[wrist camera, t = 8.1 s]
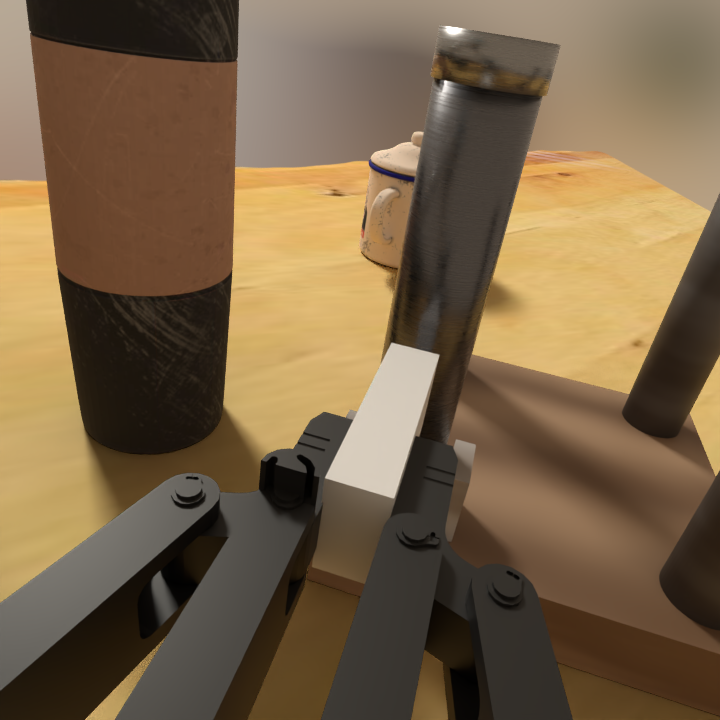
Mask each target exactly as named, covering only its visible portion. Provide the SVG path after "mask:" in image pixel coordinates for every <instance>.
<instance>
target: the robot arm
mask: <svg viewBox="0 0 720 720" xmlns="http://www.w3.org/2000/svg"><path fill="white" fill-rule="evenodd" d="M438 359H439V355H438V354H434V353H430V352H426V351H422V350H419V349H415V348H411V347H407V346H403V345H399V344H395V343H391V345H390V347H389V349H388V351H387V353H386V355H385V357H384V359H383V361H382V363H381V365H380V367H379V369H378V371H377V373H376V375H375V377H374V379H373V381H372V383H371V385H370V387H369V389H368V391H367V393H366V395H365V397H364V400H363V402H362V404H361V406H360V408H359V410H358V412H357V414H356V416H355V418H354V420H352V419H348V418H345V417H341V416H338V415H334V414H330V413H327V412H323V413H322V414H320V415H318V416H317V417H315V418H313V419H312V420H311V421H310V422H309V424H308V425H307V427H306V429H305V430H304V432H303V434H302V435H301V437H300V439H299V440H298V443H297V444H296V445H295V447H294V449H280V450H276V451H273V452H271V453H269V454H267V455H266V456H265V457H264V458H263V459H262V460H261V468H260V482H259V490H258V491H253V492H249V493H227V492H220V489H219V487H218V484H217V483H216V482H215V481H214V480H213V479H212V478H210V477H208V476H205V475H203V474H200V473H184V474H180V475H175V476H173V477H171V478H170V479H168V480H166V481H164V482H163V483H162V484H160V485H159V486H158V487H156V488H155V489H154V490H152V491H151V492H149V493H148V494H147V495H145V496H144V497H143V498H141V499H140V500H139V501H137V502H136V503H135V504H133V505H132V506H131V507H129V508H128V509H127V510H125V511H124V512H122V513H121V514H120V515H118V516H117V517H116V518H114V519H113V520H112V521H110V522H109V523H108V524H106V525H105V526H104V527H102V528H101V529H100V530H98V531H97V532H95V533H94V534H93V535H91V536H90V537H89V538H87V539H86V540H85V541H83V542H82V543H81V544H79V545H78V546H77V547H75V548H74V549H73V550H71V551H70V552H68V553H67V554H66V555H64V556H63V557H62V558H60V559H59V560H58V561H56V562H55V563H54V564H52V565H51V566H50V567H48V568H47V569H46V570H44V571H43V572H41V573H40V574H39V575H37V576H36V577H35V578H33V579H32V580H31V581H29V582H28V583H27V584H25V585H24V586H23V587H21V588H20V589H19V590H17V591H16V592H14V593H13V594H12V595H10V596H9V597H8V598H6V599H5V600H4V601H2V602H1V603H0V720H85V719H86V718H87V717H88V716H89V715H90V714H91V713H92V712H93V711H94V710H95V709H96V708H97V706H98V705H99V704H100V703H101V702H102V701H103V700H104V699H105V698H106V697H107V696H108V695H109V694H110V693H111V692H112V691H113V690H114V689H115V688H116V687H117V686H118V685H119V684H120V683H121V682H122V681H123V680H124V679H125V678H126V677H127V676H128V675H129V674H130V673H131V672H132V671H133V669H134V668H135V667H136V666H137V665H138V664H139V663H140V662H141V661H142V660H143V659H144V658H145V657H146V656H147V655H148V654H149V653H150V652H151V651H152V650H153V649H154V648H155V647H156V646H157V645H158V644H159V643H160V642H161V641H162V640H163V639H164V638H165V637H166V636H167V637H166V638H165V640H164V642H163V643H162V645H161V646H160V648H159V650H158V651H157V653H156V654H155V656H154V658H153V659H152V661H151V662H150V664H149V666H148V667H147V669H146V670H145V672H144V674H143V675H142V677H141V678H140V680H139V682H138V683H137V685H136V686H135V688H134V690H133V691H132V693H131V694H130V696H129V698H128V699H127V701H126V702H125V704H124V706H123V707H122V709H121V710H120V712H119V714H118V715H117V717H116V718H115V720H247V719H248V716H249V714H250V712H251V709H252V707H253V705H254V702H255V700H256V698H257V695H258V693H259V691H260V688H261V686H262V684H263V681H264V679H265V677H266V674H267V672H268V670H269V667H270V665H271V663H272V660H273V658H274V656H275V653H276V651H277V649H278V646H279V644H280V642H281V639H282V637H283V635H284V632H285V630H286V628H287V625H288V623H289V621H290V618H291V616H292V614H293V611H294V609H295V607H296V604H297V602H298V600H299V597H300V595H301V593H302V590H303V588H304V585H305V579H306V572H307V569H308V566H309V564H310V562H311V560H312V557H313V562H312V567H314V568H317V569H320V570H323V571H326V572H329V573H332V574H335V575H338V576H342V577H345V578H348V579H351V580H354V581H357V582H360V583H363V584H365V585H364V588H363V591H362V594H361V597H360V600H359V604H358V607H357V610H356V613H355V616H354V619H353V622H352V625H351V628H350V631H349V634H348V637H347V641H346V644H345V647H344V650H343V653H342V656H341V659H340V662H339V665H338V668H337V671H336V674H335V678H334V681H333V684H332V687H331V690H330V693H329V696H328V699H327V702H326V705H325V708H324V711H323V715H322V718H321V720H411V716H412V711H413V706H414V701H415V695H416V690H417V685H418V680H419V674H420V669H421V664H422V659H423V653H424V649H425V650H426V651H427V652H429V653H430V654H432V655H433V656H435V657H436V658H437V659H439V660H440V661H442V662H443V671H444V681H445V691H446V700H447V710H448V720H573V718H572V715H571V711H570V708H569V704H568V701H567V697H566V694H565V690H564V686H563V683H562V679H561V676H560V672H559V669H558V665H557V661H556V658H555V654H554V651H553V647H552V644H551V640H550V636H549V633H548V629H547V626H546V622H545V619H544V615H543V611H542V608H541V604H540V601H539V597H538V594H537V592H536V590H535V588H534V586H533V584H532V583H531V582H530V581H529V580H528V579H527V578H526V577H525V576H524V574H522V573H520V572H519V571H517V570H515V569H514V568H512V567H509V566H506V565H502V564H486V565H484V566H482V567H480V568H476V567H475V566H473V565H471V564H470V563H468V562H467V561H465V560H464V559H462V558H461V557H460V556H458V555H457V553H456V552H455V551H454V550H453V549H452V548H451V546H450V544H449V543H448V541H447V538H446V534H445V528H446V522H447V517H448V511H449V506H450V501H451V495H452V490H453V485H454V480H455V474H456V469H457V464H458V458H457V456H456V453H455V451H454V448H453V446H451V445H447V444H443V443H440V442H436V441H433V440H429V439H425V438H422V437H419V436H420V432H421V429H422V425H423V421H424V417H425V413H426V409H427V405H428V401H429V396H430V392H431V388H432V384H433V380H434V376H435V372H436V368H437V364H438Z"/></svg>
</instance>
